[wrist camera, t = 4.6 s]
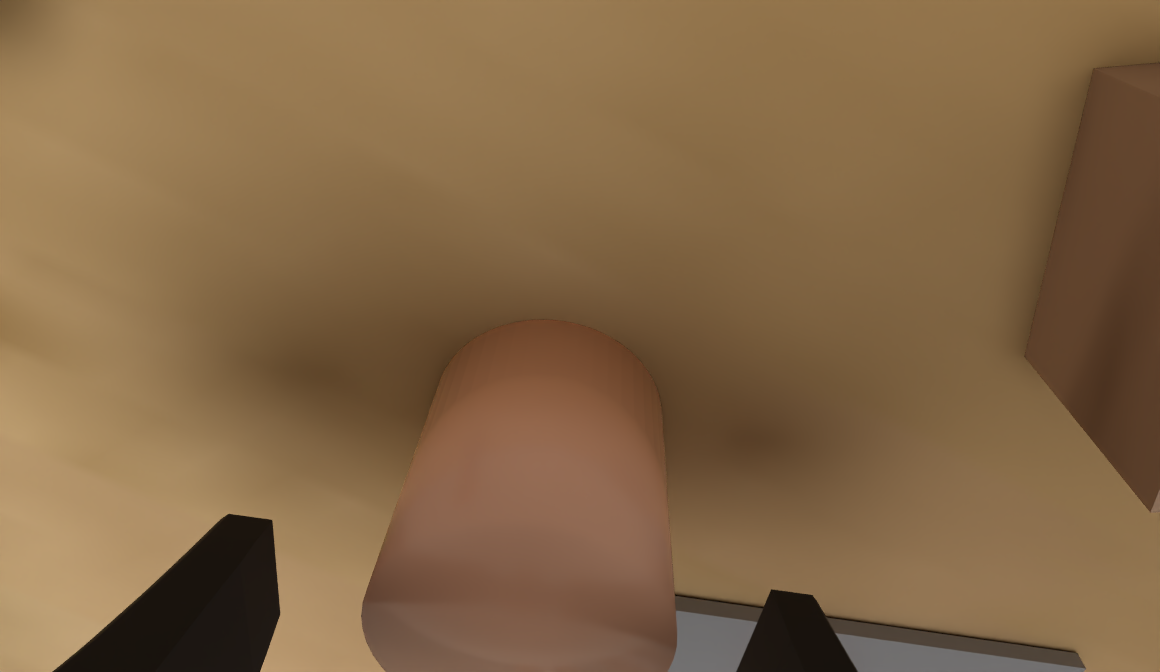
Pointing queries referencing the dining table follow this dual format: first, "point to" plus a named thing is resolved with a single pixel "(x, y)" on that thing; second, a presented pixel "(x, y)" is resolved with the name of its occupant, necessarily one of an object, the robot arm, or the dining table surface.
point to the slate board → (853, 645)
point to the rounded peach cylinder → (531, 515)
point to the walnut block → (1109, 279)
